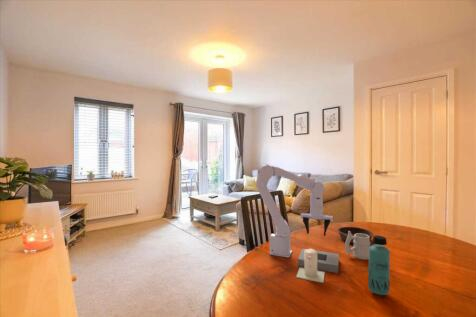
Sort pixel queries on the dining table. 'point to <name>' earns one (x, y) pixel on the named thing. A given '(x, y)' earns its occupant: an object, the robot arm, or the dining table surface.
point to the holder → (323, 261)
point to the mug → (358, 245)
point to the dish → (353, 232)
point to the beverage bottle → (379, 266)
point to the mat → (318, 278)
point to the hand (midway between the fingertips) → (316, 234)
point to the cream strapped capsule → (310, 262)
